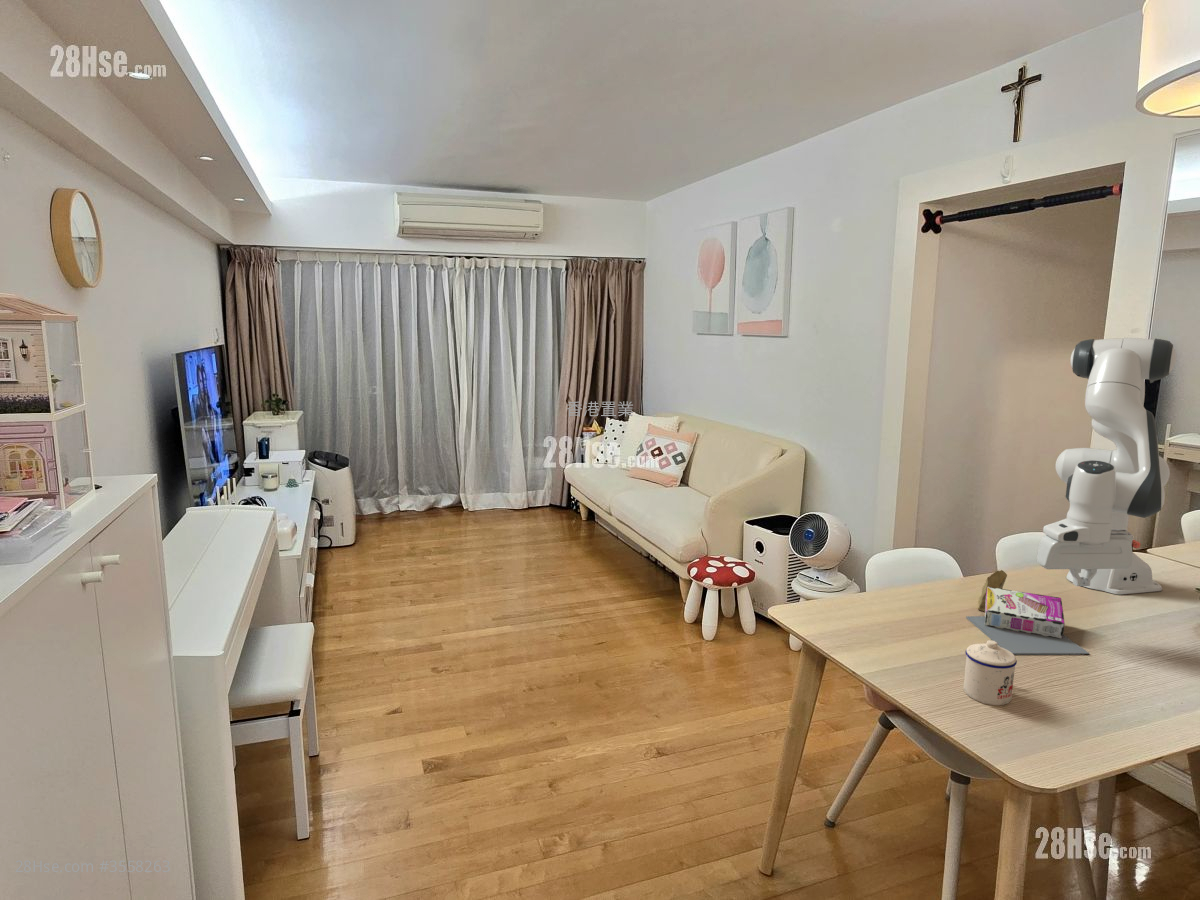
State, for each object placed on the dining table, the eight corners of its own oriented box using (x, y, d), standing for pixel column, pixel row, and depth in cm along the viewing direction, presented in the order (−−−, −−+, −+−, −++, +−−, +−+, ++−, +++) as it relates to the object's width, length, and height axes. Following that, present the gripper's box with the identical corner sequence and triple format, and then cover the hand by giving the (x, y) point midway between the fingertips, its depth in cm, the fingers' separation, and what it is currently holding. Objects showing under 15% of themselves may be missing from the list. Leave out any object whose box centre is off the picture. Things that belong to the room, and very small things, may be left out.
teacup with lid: (1006, 712, 135) (1012, 657, 133) (956, 695, 141) (961, 642, 139) (1020, 688, 144) (1026, 635, 142) (972, 673, 150) (977, 623, 148)
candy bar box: (1065, 622, 162) (986, 610, 170) (1063, 639, 164) (984, 627, 172) (1061, 595, 171) (986, 585, 179) (1059, 612, 173) (984, 601, 181)
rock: (994, 609, 177) (1022, 598, 180) (976, 578, 180) (1004, 568, 183) (966, 619, 186) (993, 608, 190) (949, 589, 189) (976, 579, 193)
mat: (1036, 617, 177) (1037, 616, 177) (1089, 654, 157) (1089, 653, 157) (965, 617, 178) (966, 616, 177) (1009, 654, 158) (1009, 653, 158)
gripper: (1123, 525, 165) (1116, 580, 168) (1036, 526, 166) (1030, 580, 169) (1143, 533, 159) (1135, 590, 162) (1052, 534, 160) (1046, 590, 163)
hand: (1081, 585), depth 165 cm, fingers closed
